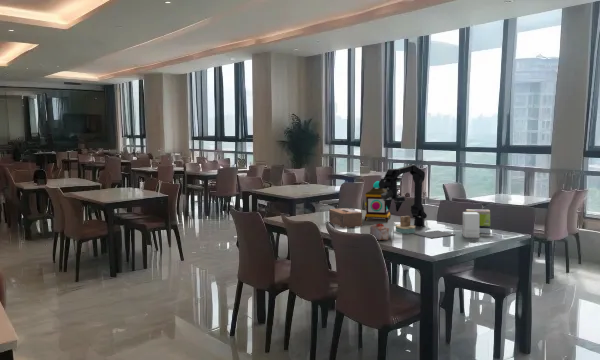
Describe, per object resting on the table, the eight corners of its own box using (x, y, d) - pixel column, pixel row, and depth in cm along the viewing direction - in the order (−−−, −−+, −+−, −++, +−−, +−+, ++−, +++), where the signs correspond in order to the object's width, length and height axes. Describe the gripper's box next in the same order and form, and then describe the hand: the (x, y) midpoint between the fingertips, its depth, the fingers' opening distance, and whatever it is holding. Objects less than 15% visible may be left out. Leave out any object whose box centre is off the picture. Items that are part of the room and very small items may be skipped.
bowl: (406, 229, 331) (406, 225, 331) (418, 232, 320) (418, 227, 320) (392, 231, 325) (392, 226, 325) (404, 234, 315) (404, 229, 314)
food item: (390, 240, 296) (390, 224, 295) (379, 241, 293) (379, 225, 292) (378, 236, 308) (378, 221, 308) (368, 237, 305) (367, 222, 305)
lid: (406, 224, 331) (406, 214, 331) (419, 227, 320) (419, 216, 319) (391, 226, 325) (391, 215, 325) (404, 229, 314) (404, 218, 313)
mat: (437, 231, 323) (437, 230, 323) (455, 235, 308) (455, 234, 308) (414, 234, 313) (414, 233, 313) (431, 238, 299) (431, 237, 299)
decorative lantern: (367, 217, 384) (367, 179, 381) (392, 218, 378) (392, 180, 375) (362, 221, 365) (362, 182, 362) (389, 222, 359) (389, 182, 356)
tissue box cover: (362, 226, 346) (361, 212, 345) (343, 228, 341) (343, 214, 340) (346, 220, 370) (346, 208, 369) (329, 222, 365) (329, 209, 364)
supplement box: (476, 235, 309) (477, 211, 307) (479, 237, 300) (480, 214, 299) (462, 234, 310) (462, 211, 309) (464, 237, 301) (464, 213, 300)
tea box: (489, 231, 320) (490, 209, 319) (490, 234, 310) (490, 211, 309) (465, 230, 325) (466, 208, 324) (465, 233, 315) (466, 210, 314)
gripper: (374, 187, 329) (375, 209, 330) (391, 189, 312) (391, 213, 314) (388, 186, 334) (388, 208, 335) (405, 188, 317) (405, 212, 319)
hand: (392, 210), depth 326 cm, fingers open, 9 cm apart
